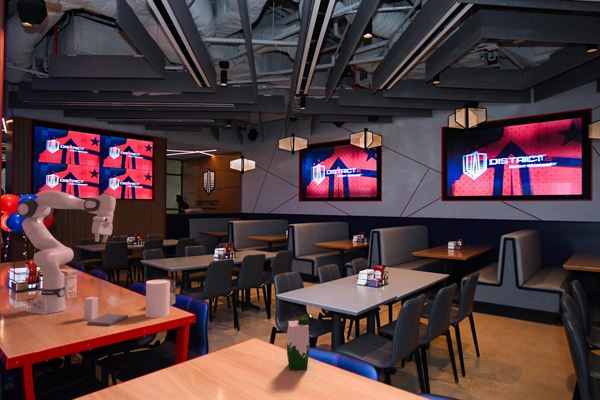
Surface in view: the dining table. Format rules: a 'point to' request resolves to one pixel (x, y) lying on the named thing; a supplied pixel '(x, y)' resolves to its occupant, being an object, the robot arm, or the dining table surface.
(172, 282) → the coffee box
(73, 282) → the coffeecake box
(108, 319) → the slate board
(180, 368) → the dining table surface
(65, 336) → the dining table surface
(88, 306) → the white post
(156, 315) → the canister
